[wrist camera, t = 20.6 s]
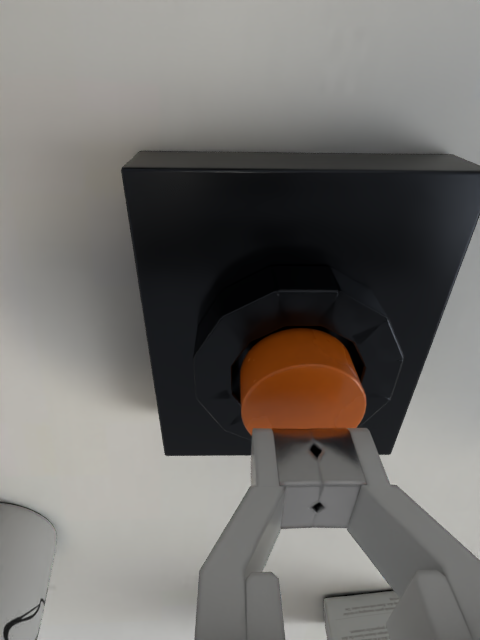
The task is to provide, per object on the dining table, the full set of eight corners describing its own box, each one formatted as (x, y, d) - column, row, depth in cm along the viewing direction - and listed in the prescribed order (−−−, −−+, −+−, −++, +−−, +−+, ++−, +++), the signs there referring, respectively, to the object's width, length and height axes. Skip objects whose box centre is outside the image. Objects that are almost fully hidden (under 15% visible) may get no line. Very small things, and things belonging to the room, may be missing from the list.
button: (240, 326, 11) (241, 365, 10) (360, 327, 11) (379, 365, 10) (239, 411, 13) (240, 453, 12) (341, 410, 13) (354, 452, 12)
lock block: (138, 150, 12) (102, 183, 9) (454, 153, 12) (537, 187, 9) (171, 414, 19) (158, 490, 15) (374, 414, 19) (404, 488, 15)
